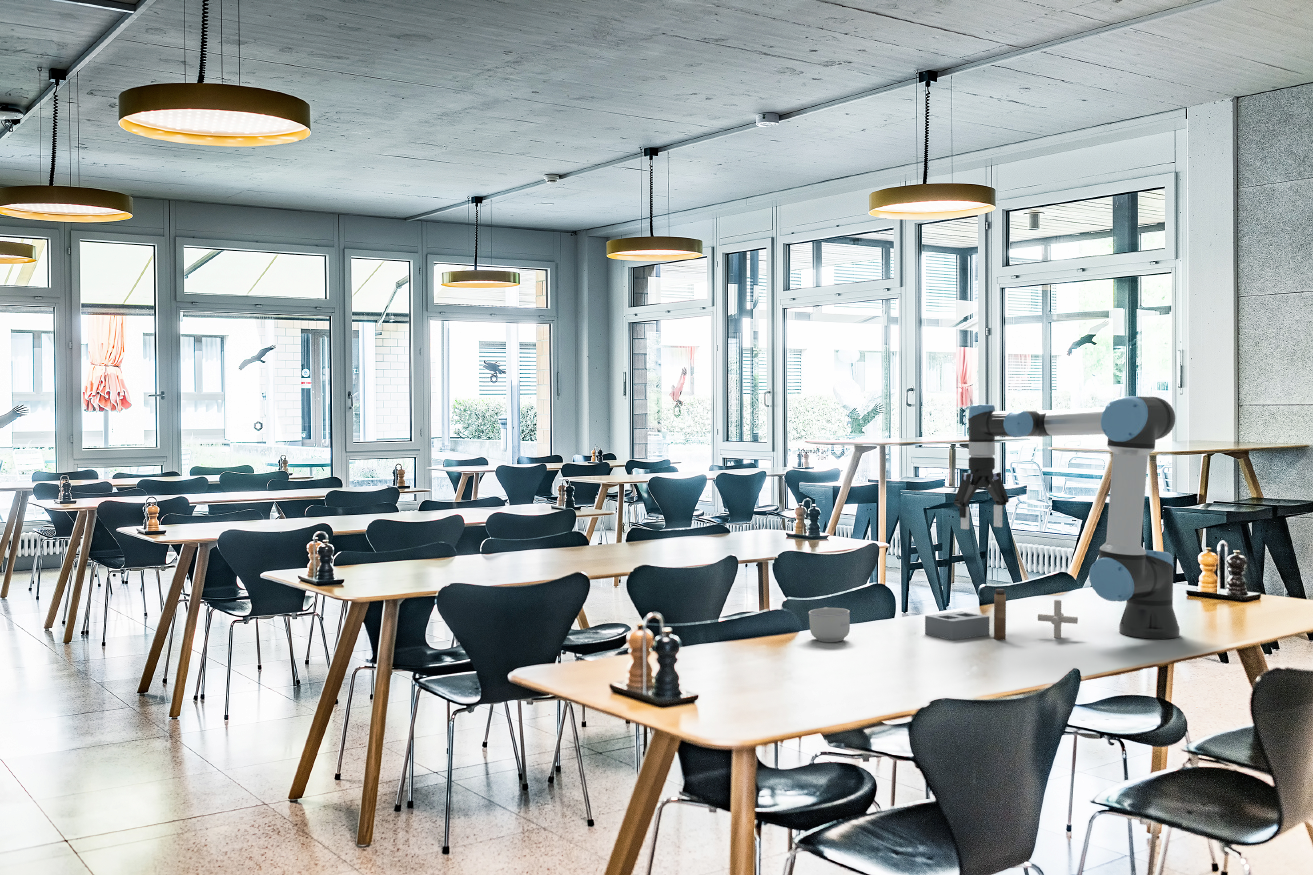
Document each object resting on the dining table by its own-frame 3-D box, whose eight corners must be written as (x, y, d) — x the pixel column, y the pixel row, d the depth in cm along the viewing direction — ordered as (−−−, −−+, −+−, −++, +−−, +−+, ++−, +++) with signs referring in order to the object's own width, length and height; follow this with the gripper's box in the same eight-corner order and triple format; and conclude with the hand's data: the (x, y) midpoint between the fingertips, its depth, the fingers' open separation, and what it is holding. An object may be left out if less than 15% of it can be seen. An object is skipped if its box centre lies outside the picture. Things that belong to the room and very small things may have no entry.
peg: (1008, 639, 311) (1008, 589, 311) (1000, 640, 310) (1000, 590, 309) (999, 637, 314) (999, 588, 314) (991, 638, 312) (991, 589, 312)
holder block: (989, 634, 317) (989, 616, 317) (952, 639, 310) (952, 621, 310) (961, 629, 326) (961, 611, 326) (925, 633, 319) (925, 615, 319)
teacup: (848, 645, 303) (849, 614, 303) (806, 643, 306) (807, 612, 306) (850, 635, 317) (851, 605, 317) (810, 633, 319) (810, 604, 319)
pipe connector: (1034, 638, 312) (1035, 601, 312) (1041, 632, 321) (1041, 596, 321) (1074, 642, 307) (1074, 604, 307) (1079, 635, 316) (1080, 598, 316)
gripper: (1001, 455, 356) (1001, 524, 357) (941, 456, 344) (941, 528, 344) (1021, 456, 350) (1021, 526, 350) (960, 457, 337) (960, 530, 338)
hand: (981, 528), depth 347 cm, fingers open, 13 cm apart
